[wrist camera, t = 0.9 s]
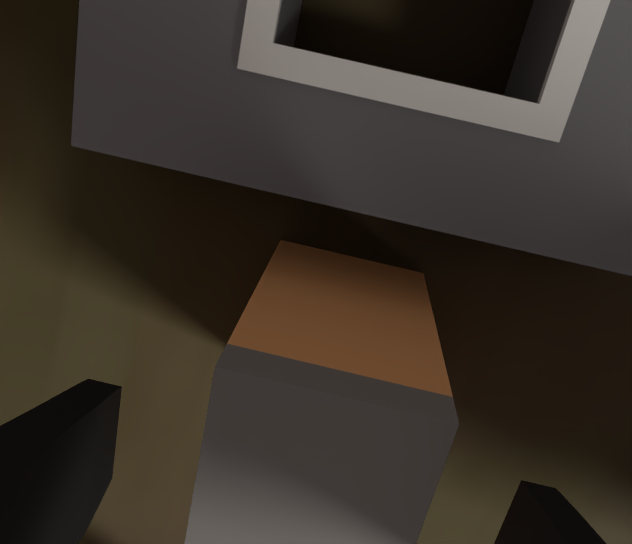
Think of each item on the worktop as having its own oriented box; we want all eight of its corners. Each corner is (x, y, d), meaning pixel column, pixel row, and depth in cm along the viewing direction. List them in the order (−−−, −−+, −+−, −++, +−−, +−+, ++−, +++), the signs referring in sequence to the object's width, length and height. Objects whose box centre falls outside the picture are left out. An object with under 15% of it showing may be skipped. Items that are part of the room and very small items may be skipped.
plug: (423, 273, 16) (459, 424, 9) (386, 395, 17) (394, 602, 11) (280, 239, 16) (214, 366, 9) (255, 364, 17) (183, 551, 11)
